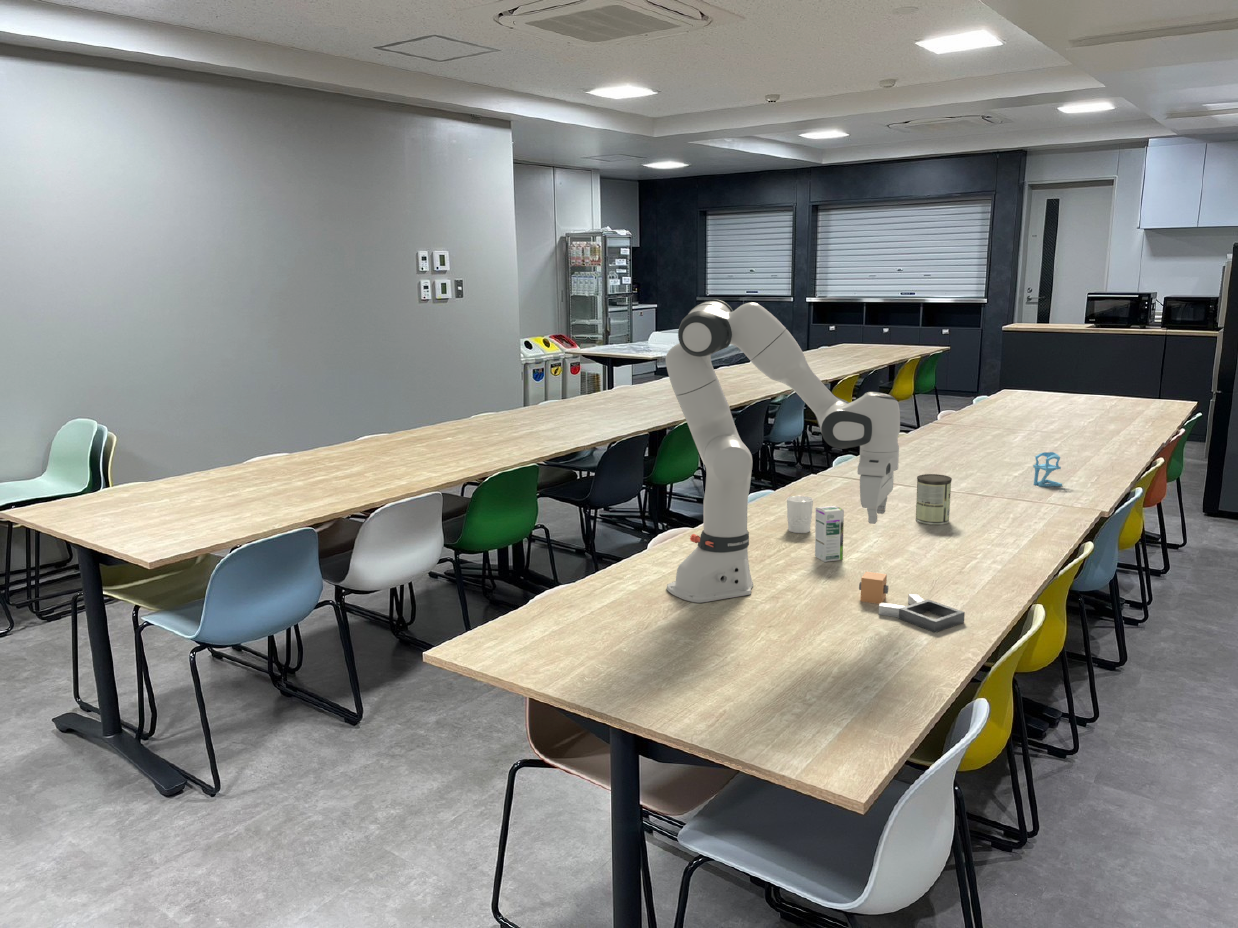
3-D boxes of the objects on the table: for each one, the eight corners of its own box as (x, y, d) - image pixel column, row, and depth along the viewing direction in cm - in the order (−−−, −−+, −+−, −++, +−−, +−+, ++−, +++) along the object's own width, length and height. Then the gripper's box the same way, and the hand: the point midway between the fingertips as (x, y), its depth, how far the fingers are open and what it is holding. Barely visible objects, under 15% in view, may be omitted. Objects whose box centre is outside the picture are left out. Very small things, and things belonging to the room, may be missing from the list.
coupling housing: (929, 634, 197) (930, 623, 197) (874, 613, 210) (875, 602, 210) (968, 620, 205) (969, 610, 204) (913, 601, 217) (913, 591, 217)
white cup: (808, 526, 282) (809, 495, 280) (815, 533, 274) (815, 501, 272) (783, 527, 282) (784, 496, 280) (789, 534, 274) (789, 502, 272)
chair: (1028, 483, 332) (1030, 451, 329) (1046, 481, 334) (1049, 449, 332) (1043, 488, 325) (1046, 455, 322) (1062, 486, 327) (1065, 453, 325)
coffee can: (911, 516, 291) (913, 473, 288) (944, 516, 290) (947, 473, 287) (918, 525, 281) (921, 481, 278) (953, 525, 280) (955, 481, 277)
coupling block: (885, 604, 216) (886, 580, 214) (857, 600, 218) (858, 577, 217) (889, 598, 220) (890, 574, 219) (861, 594, 223) (862, 571, 222)
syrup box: (824, 562, 247) (825, 511, 244) (814, 556, 253) (815, 506, 250) (843, 560, 249) (844, 509, 246) (832, 554, 254) (834, 504, 251)
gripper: (874, 452, 222) (872, 506, 225) (855, 468, 205) (853, 527, 208) (900, 453, 220) (898, 508, 223) (884, 470, 202) (881, 530, 205)
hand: (877, 517), depth 215 cm, fingers open, 8 cm apart
